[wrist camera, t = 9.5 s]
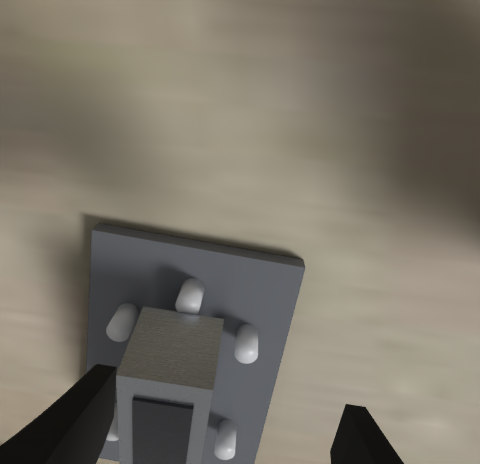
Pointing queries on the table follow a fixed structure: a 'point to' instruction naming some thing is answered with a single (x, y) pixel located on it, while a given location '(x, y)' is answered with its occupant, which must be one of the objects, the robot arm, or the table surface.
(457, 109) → the table surface
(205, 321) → the block
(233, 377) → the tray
